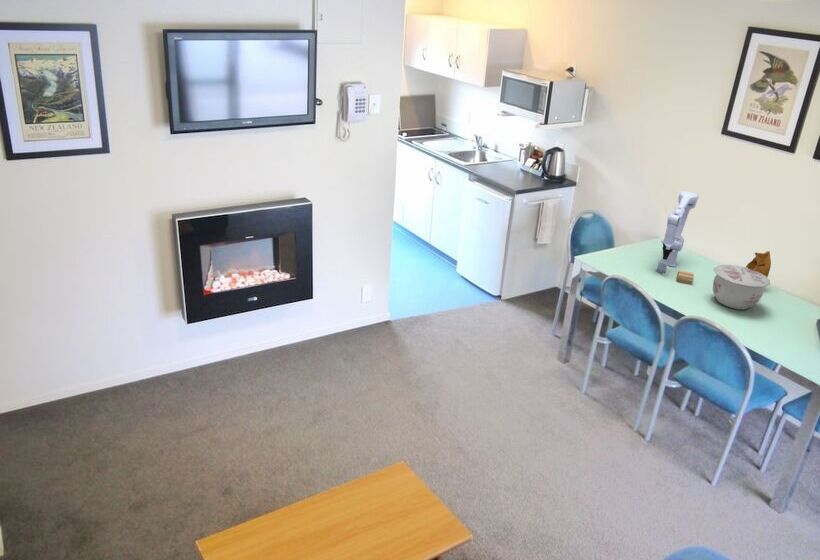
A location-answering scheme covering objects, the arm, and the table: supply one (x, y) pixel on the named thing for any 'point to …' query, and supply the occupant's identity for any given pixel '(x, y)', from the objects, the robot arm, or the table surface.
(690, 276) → the oak slab
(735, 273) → the chamber pot
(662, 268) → the round block
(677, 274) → the walnut slab
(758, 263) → the coffee package
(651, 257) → the table surface
